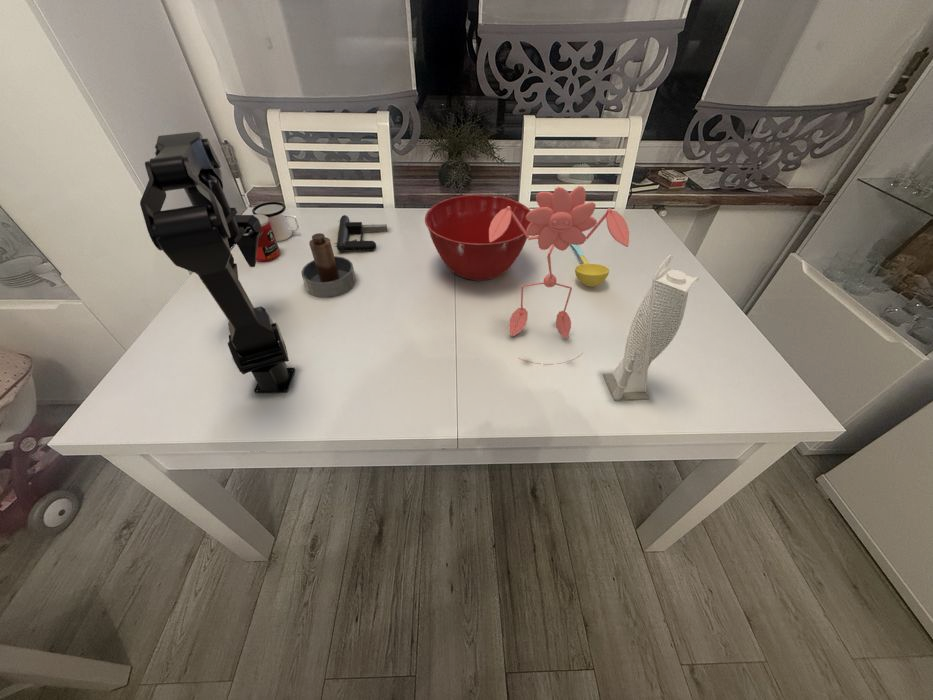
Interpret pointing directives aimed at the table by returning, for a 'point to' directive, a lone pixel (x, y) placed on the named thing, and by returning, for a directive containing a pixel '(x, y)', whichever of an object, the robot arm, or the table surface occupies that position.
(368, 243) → the door handle
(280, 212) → the mug
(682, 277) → the skyscraper
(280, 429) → the table surface
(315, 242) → the pepper mill
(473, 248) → the mixing bowl
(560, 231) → the figurine
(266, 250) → the canned food
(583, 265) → the ladle
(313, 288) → the tin
